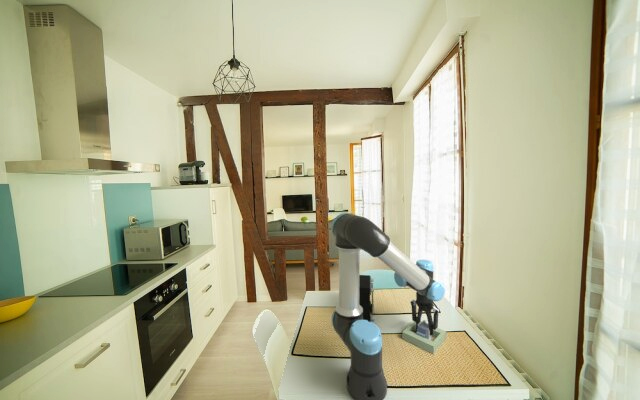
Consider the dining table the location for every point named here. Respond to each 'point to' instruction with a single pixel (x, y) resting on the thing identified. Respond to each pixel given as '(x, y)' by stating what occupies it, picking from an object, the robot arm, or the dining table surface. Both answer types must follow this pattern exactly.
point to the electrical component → (366, 296)
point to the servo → (423, 329)
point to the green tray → (424, 338)
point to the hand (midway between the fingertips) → (424, 338)
